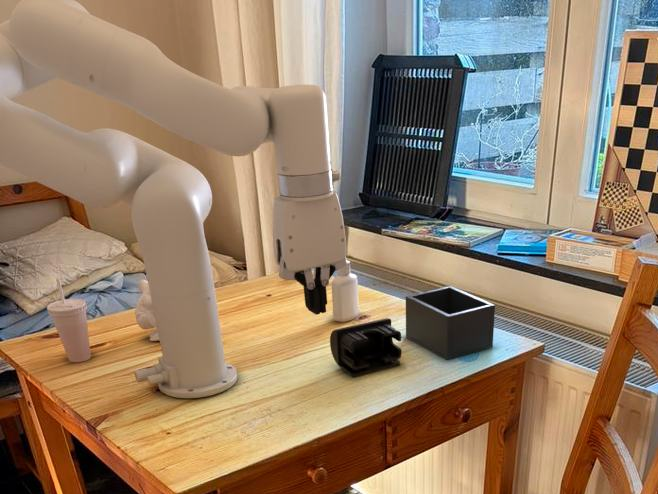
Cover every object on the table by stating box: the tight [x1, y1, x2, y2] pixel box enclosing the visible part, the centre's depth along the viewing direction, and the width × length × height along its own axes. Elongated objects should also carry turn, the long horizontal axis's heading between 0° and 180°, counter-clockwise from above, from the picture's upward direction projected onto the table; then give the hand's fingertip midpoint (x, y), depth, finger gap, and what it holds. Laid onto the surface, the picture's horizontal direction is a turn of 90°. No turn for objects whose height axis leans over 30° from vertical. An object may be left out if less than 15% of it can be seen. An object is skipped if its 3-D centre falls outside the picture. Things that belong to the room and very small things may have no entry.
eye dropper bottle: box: [331, 255, 360, 323], centre depth 140 cm, size 4×6×12 cm
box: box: [405, 285, 496, 361], centre depth 129 cm, size 10×13×8 cm
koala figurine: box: [134, 279, 160, 342], centre depth 135 cm, size 8×7×12 cm
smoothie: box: [46, 277, 92, 363], centre depth 128 cm, size 6×6×14 cm
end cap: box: [329, 317, 403, 378], centre depth 123 cm, size 10×7×7 cm
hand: (316, 311), depth 115 cm, fingers closed
